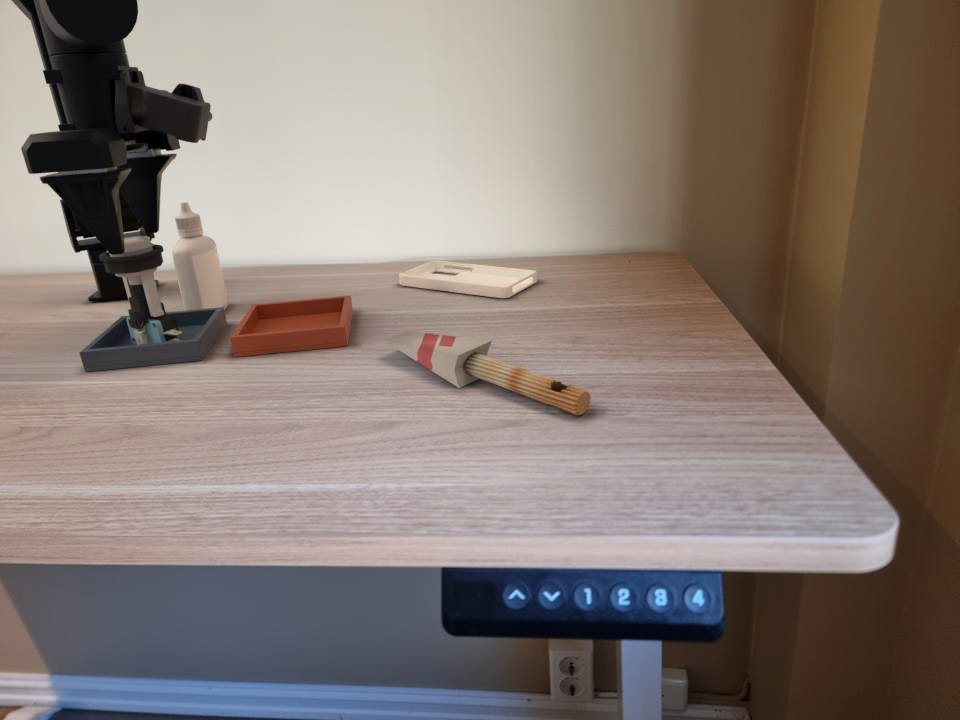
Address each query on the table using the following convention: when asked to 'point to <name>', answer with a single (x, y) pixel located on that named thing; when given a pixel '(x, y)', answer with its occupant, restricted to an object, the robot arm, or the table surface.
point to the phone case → (469, 279)
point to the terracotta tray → (294, 326)
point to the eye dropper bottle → (197, 264)
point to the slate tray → (122, 353)
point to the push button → (142, 290)
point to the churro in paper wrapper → (485, 368)
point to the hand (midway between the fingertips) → (136, 242)
